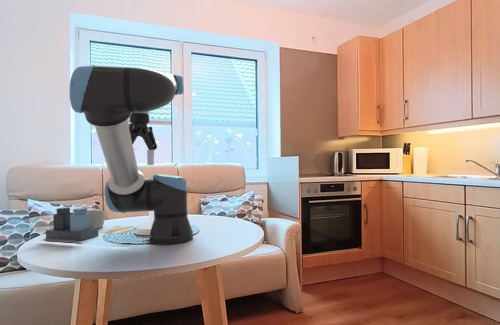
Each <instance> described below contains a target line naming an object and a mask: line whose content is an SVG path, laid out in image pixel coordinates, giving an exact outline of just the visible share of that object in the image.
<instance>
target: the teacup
mask: <svg viewBox="0 0 500 325" xmlns="http://www.w3.org/2000/svg"><path fill="white" fill-rule="evenodd" d="M87 213H90V227H97V228H98V230H99V229H101V228H102V227H103V226H104V223H105V213H106V212H105V210H98V209H96V210H95V209H91V210H90V209H89V210H88V209H87Z"/></svg>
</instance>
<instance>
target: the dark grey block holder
mask: <svg viewBox="0 0 500 325" xmlns="http://www.w3.org/2000/svg"><path fill="white" fill-rule="evenodd" d="M73 214H74V212H71V208H70V207H65V206H64V207H59V208H56V213H54V214H53V216H52V218H53V219H52V220H53V228H48V229H45V239H47V240H45V242H50V243H51V242H53V243H63V244H64V243H66V244H78V245H81V244H83V243H82V242H83V241H85V240H88V239H92V238H95V237H98V236H99V233H98V232H99V229H98V228H97V227H90V229H89V230H85V231H82V232H74V231H71V228H70V215H73ZM56 240H57V241H56Z"/></svg>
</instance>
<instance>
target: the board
mask: <svg viewBox="0 0 500 325" xmlns="http://www.w3.org/2000/svg"><path fill="white" fill-rule="evenodd" d="M134 227H135V226H125V225H124V226H123V225H116V226H113V227H109V228H106V229H103V230H98V234H113V235H114V234H115V235H123V234H126V233H129V232H132V231H135V230H134Z"/></svg>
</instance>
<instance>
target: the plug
mask: <svg viewBox="0 0 500 325" xmlns="http://www.w3.org/2000/svg"><path fill="white" fill-rule="evenodd" d="M87 210H88V208H86V207H78V208H74V209H73V215H70V228H71V231H74V232H82V231H85V230H89V229H90V213H87Z"/></svg>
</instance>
